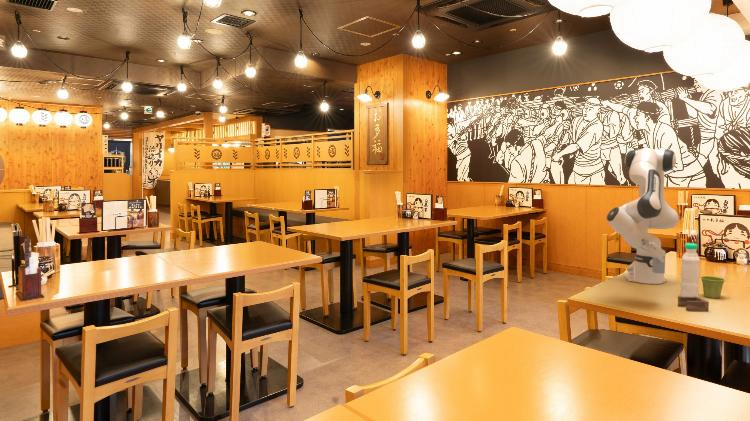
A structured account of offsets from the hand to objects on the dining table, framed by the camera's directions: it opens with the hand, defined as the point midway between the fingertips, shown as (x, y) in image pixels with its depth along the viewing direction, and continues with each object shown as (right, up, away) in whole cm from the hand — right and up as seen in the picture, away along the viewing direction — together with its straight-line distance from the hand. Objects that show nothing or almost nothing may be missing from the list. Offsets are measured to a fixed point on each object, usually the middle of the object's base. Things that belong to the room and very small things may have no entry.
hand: (660, 260), depth 210 cm
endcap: (+9, -20, -7) cm, 23 cm away
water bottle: (+19, -18, +10) cm, 28 cm away
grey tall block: (-1, -5, +1) cm, 5 cm away
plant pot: (+30, -18, +11) cm, 37 cm away
